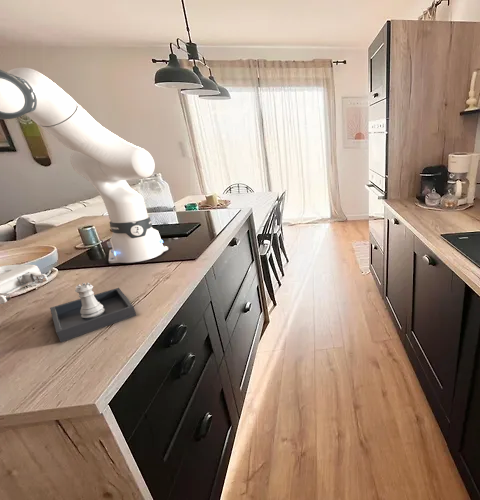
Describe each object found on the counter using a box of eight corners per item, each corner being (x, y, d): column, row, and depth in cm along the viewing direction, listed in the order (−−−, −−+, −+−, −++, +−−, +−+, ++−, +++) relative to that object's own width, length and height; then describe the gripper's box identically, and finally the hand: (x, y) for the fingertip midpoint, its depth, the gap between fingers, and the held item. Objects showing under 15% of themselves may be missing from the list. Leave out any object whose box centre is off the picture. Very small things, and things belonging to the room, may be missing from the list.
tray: (53, 316, 70) (49, 307, 69) (121, 295, 80) (118, 287, 79) (60, 342, 61) (56, 332, 60) (136, 315, 70) (133, 306, 70)
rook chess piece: (109, 311, 71) (99, 282, 68) (89, 320, 67) (77, 290, 64) (97, 307, 73) (87, 279, 70) (77, 317, 69) (65, 287, 66)
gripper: (-114, 303, 53) (-29, 298, 55) (-3, 261, 72) (58, 258, 74) (-95, 332, 56) (-14, 326, 57) (8, 283, 75) (66, 280, 76)
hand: (27, 287), depth 66 cm, fingers open, 8 cm apart
